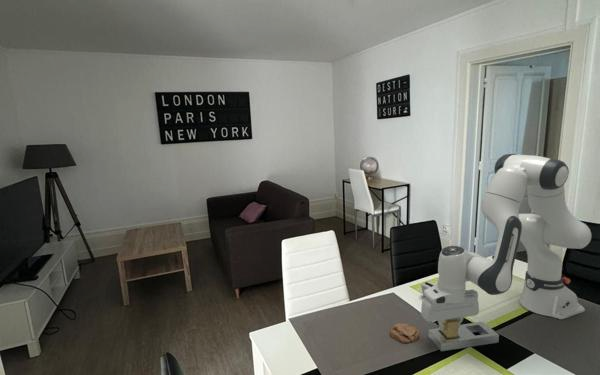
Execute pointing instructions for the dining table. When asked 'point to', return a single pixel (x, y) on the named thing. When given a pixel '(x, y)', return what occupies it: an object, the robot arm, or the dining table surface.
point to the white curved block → (426, 286)
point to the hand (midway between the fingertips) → (449, 328)
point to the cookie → (404, 333)
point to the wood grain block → (450, 328)
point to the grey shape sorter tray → (465, 337)
